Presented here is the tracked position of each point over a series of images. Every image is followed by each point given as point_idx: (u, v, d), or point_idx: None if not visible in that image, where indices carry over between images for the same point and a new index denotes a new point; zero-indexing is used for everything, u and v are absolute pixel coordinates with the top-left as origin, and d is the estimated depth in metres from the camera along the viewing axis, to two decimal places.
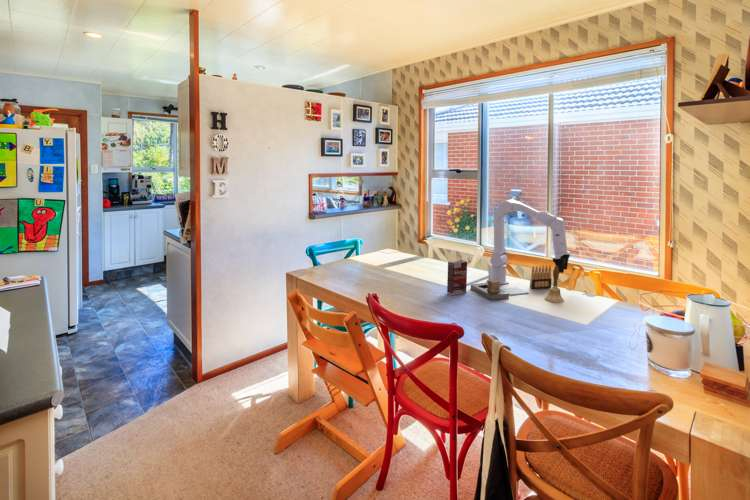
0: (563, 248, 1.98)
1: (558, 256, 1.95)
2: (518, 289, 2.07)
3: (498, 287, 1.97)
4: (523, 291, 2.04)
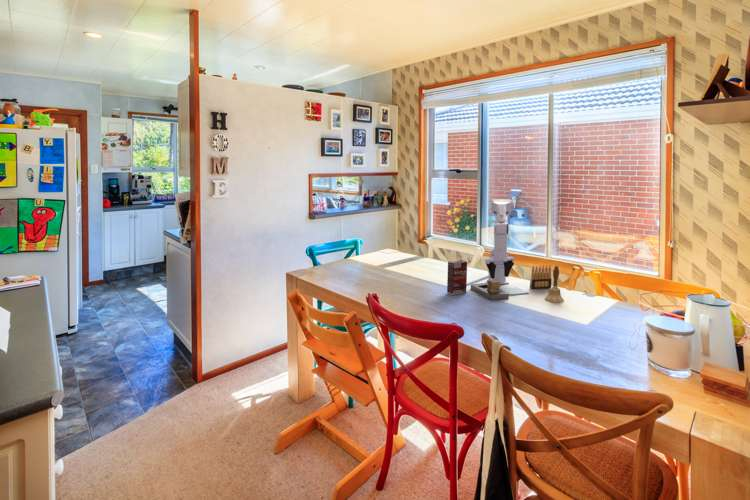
0: (499, 255, 1.92)
1: (487, 261, 1.92)
2: (518, 289, 2.07)
3: (498, 287, 1.97)
4: (523, 291, 2.04)
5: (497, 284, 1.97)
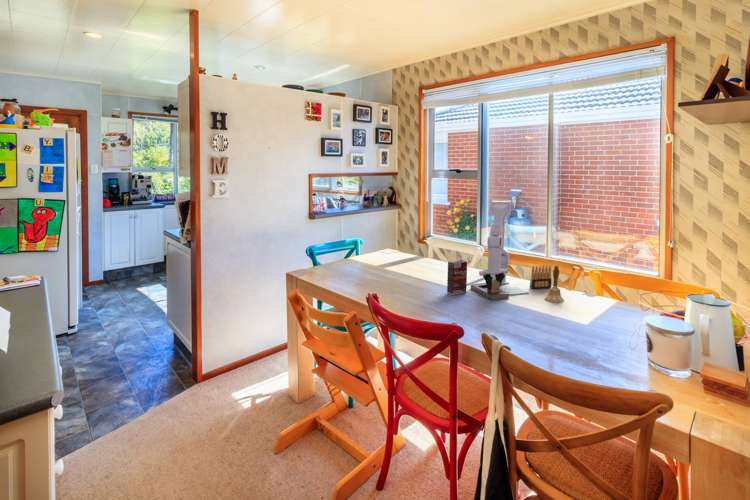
0: (492, 267, 1.95)
1: (480, 273, 1.95)
2: (518, 289, 2.07)
3: (498, 287, 1.97)
4: (523, 291, 2.04)
5: (497, 284, 1.97)
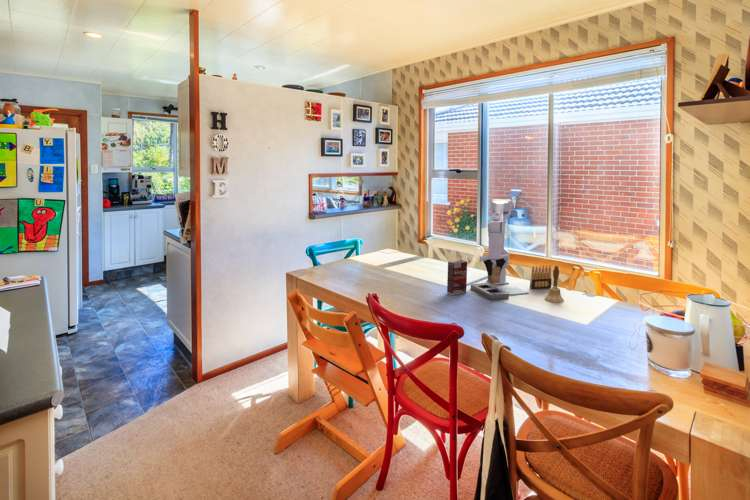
0: (493, 253, 1.93)
1: (481, 258, 1.94)
2: (518, 289, 2.07)
3: (499, 273, 1.96)
4: (523, 291, 2.04)
5: (498, 270, 1.96)
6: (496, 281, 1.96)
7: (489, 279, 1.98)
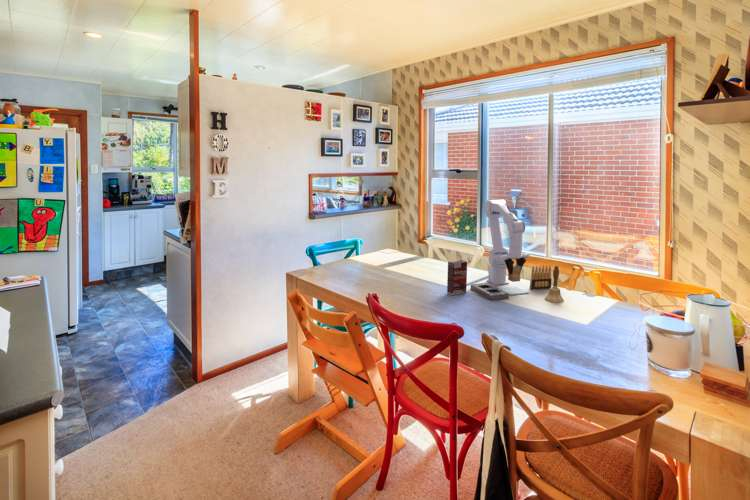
0: (514, 252, 2.00)
1: (502, 257, 2.00)
2: (518, 289, 2.07)
3: (519, 271, 2.02)
4: (523, 291, 2.04)
5: (518, 268, 2.02)
6: (516, 279, 2.03)
7: (510, 278, 2.04)
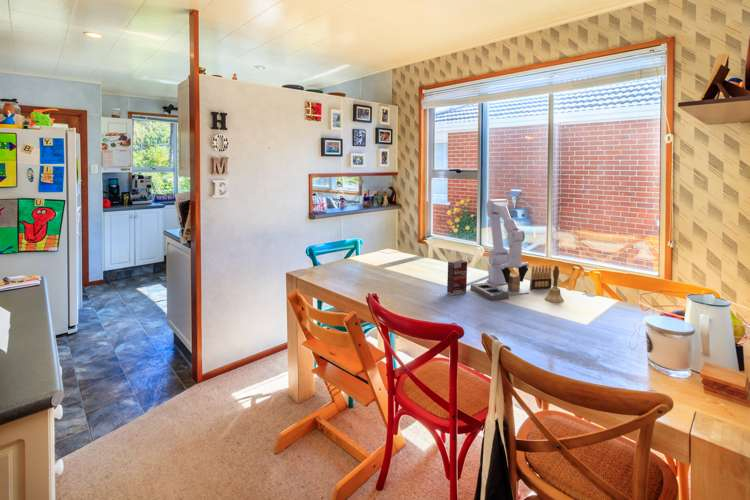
0: (513, 261, 2.00)
1: (502, 266, 2.01)
2: None
3: (518, 282, 2.03)
4: (523, 291, 2.04)
5: (518, 279, 2.03)
6: (516, 290, 2.04)
7: (509, 288, 2.05)
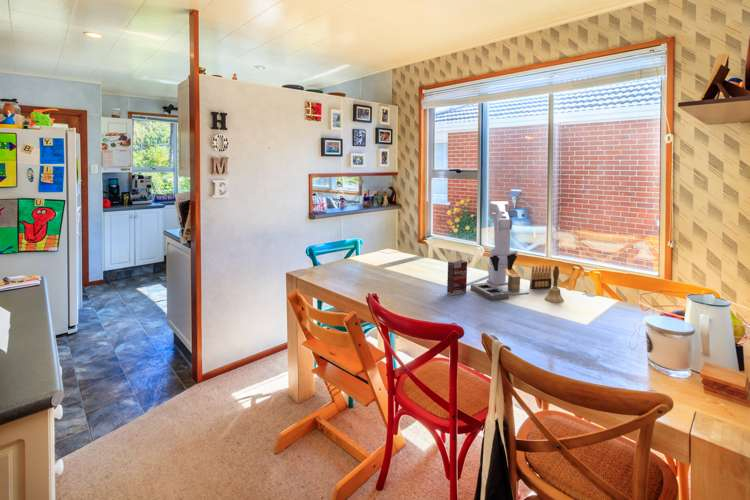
0: (502, 249, 2.02)
1: (490, 254, 2.02)
2: None
3: (518, 282, 2.03)
4: (523, 291, 2.04)
5: (518, 279, 2.03)
6: (516, 290, 2.04)
7: (509, 288, 2.05)
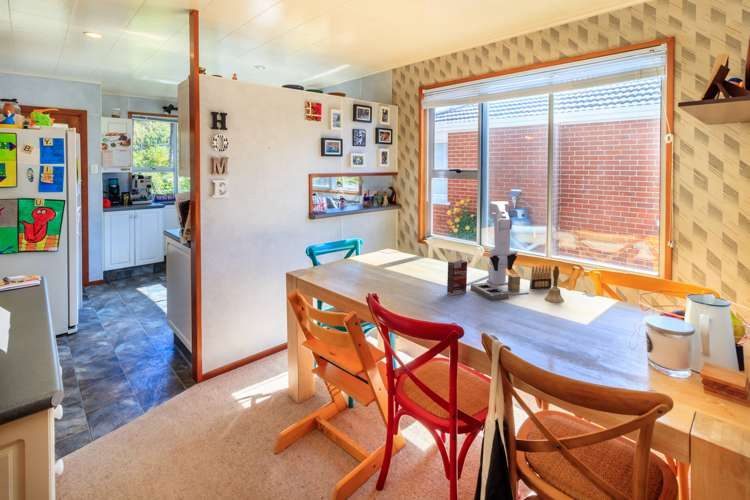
0: (502, 249, 2.02)
1: (490, 254, 2.02)
2: None
3: (518, 282, 2.03)
4: (523, 291, 2.04)
5: (518, 279, 2.03)
6: (516, 290, 2.04)
7: (509, 288, 2.05)
